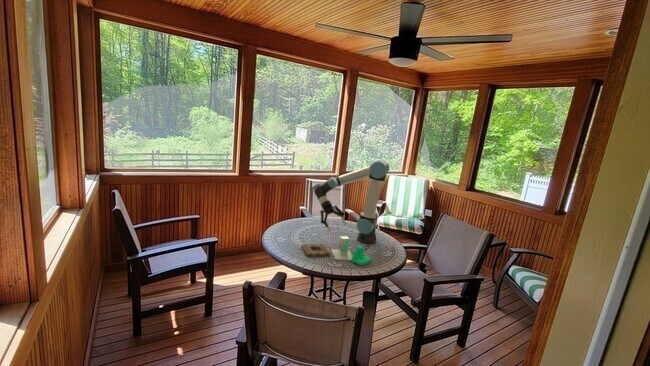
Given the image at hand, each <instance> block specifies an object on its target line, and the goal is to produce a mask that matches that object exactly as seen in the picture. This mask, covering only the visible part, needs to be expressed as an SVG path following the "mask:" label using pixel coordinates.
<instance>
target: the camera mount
mask: <svg viewBox="0 0 650 366" xmlns="http://www.w3.org/2000/svg"><path fill="white" fill-rule="evenodd" d="M354 250H355V251H354V253H353V254H352V256H353V257H352V259H351V260H350V261H351V262H353V263H355V264H357V265H359V266H366V265H367V264H369V263H370V262H372V258H371V257H369V256H367V255H365V253H364V252H365V247H364V246H362V245H357V246H356V249H354Z"/></svg>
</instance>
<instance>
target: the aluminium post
mask: <svg viewBox="0 0 650 366" xmlns="http://www.w3.org/2000/svg"><path fill="white" fill-rule="evenodd" d="M338 241H339V243H338V247H337V249H338V254H339V255H340V256H347V255H348V250H349V246H350V241H351V239H350V237H348V235H344V236H343V235H339V240H338Z"/></svg>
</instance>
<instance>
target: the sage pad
mask: <svg viewBox="0 0 650 366" xmlns="http://www.w3.org/2000/svg"><path fill="white" fill-rule="evenodd" d="M331 254H332V255H333V258H334V260H335V261H351V259H352V257H353V254H352V252H351V251H350V249H348V255H347V256H340V255H339V254H338V248H334V249H333V248H331Z"/></svg>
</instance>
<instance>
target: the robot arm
mask: <svg viewBox="0 0 650 366" xmlns="http://www.w3.org/2000/svg"><path fill="white" fill-rule="evenodd" d="M389 169H390V165H389V162H387V161H386V160H384V159H378V160H375V161H373V162H372V163H371V164H369V166H366V167H363V168H359V169H357V170H354V171H351V172H347V173H344V174H342V175H339V176H335V177H333V176H332V177H330V178H328V179H327V180H326V181H325V182H324V183H322V184H321V183H317V184H314V185H313V187H312V190H313V192H314V194H315V196H316V198H317V200H318V202H319V204H320V206H321V208H322V209H321V210H320V211H319V212H320V224H323V225H324V227H325V228H327V230H328V232H331V230H332V229H331V227H330V225H329V222H328V221H327V220H328V215H330V214H335V216H338V217H340V220H341V222H342V224H343V226H345V227H346V225H347V222H346V221H345V220H346V218H345V212H344V211H342V210H341V209H340V208H339V207H338V206H337V205H334V206H333V204H332V203H331V201H330V198H329V197H328V193H329V192H330V191H333V189H336V188H339V187H341V186H344V185H347V184H350V183H354V182H357V181H360V180H363V179H366V178H368V179H369V184H368V188H367V193H366V197H365V202H364V206H363V211H362V212H360V214H359V218H358V221H357V223H356V229H357V231H358V234H357V237H356V239H357V241H358V242H361V243H364V244H370V245H371V244H376V243H377V240H378V239H377V233H376V230H377V223H378V218H379V217H378V216H379V214H378V213H377V212H376V209H377V206H378V201H379V197H380V195H381V193H380V192H381V189H382V184H383V183H384V182H385V181H386V178H387V177H386V176H387V174H388V172H389Z"/></svg>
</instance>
